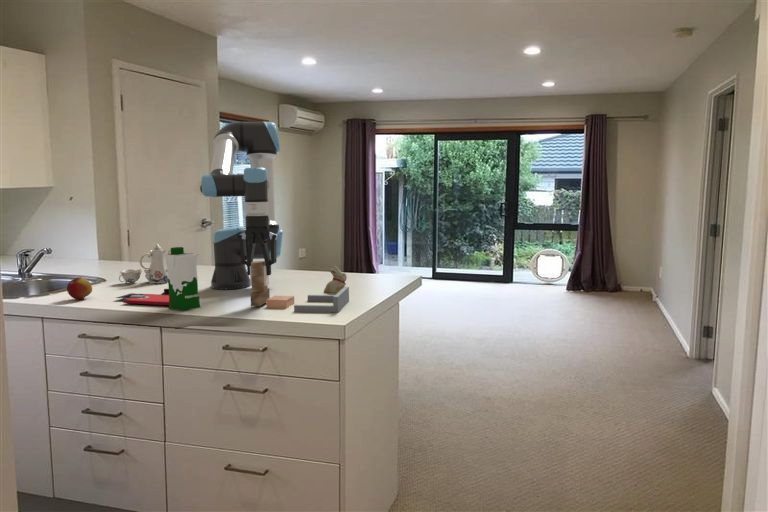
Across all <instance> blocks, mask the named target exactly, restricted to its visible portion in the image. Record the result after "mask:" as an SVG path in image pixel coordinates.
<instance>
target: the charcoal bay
mask: <svg viewBox="0 0 768 512" xmlns="http://www.w3.org/2000/svg"><path fill="white" fill-rule="evenodd" d="M321 301H330V302H331V303H332V305H330V304H329V305H328V304H293V311H294V312H295V313H331V312H338V313H340V312H341V310H342V309H343V308H344V307H345V306H346V305H347V304H348V303H349V302H350V286H345V287H344V288H342V289H341V290H340V291H339V292H338V293H335V294H307V302H321ZM330 302H329V303H330Z"/></svg>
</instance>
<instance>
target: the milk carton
mask: <svg viewBox="0 0 768 512" xmlns="http://www.w3.org/2000/svg"><path fill="white" fill-rule="evenodd" d="M170 249H171V254H168V253H167V254H165V260H166V264H167V269H168V283H167V284H168V289H169V305H168V309H170V310H174V311H180V312H185V311H189V310H190V311H191V310H192V309H197V308H201V303H200V296H199V286H198V284H199V283H198V260H199V254H198V253H194V252H185V251H184V247H182V246H175V247H171V248H170Z"/></svg>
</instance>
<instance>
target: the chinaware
mask: <svg viewBox="0 0 768 512" xmlns="http://www.w3.org/2000/svg"><path fill="white" fill-rule="evenodd" d="M166 251H167V255H168V254H171V248H169V249H168V250H166V249H163V248H162V247H161V246H160V245H159V244H158V243H156V245H155V246H154V247H153V248H152V249H150V250H149V252H148V253H143V254H142V255H141V256H140V258H139V265H140V267H141V268H142V269H143V270H142V269H141V268H140V269H136V270H135V269H127V270H120V274H119V277H118V280H119V282H120V283H124V282H125V284H127V283H129V284H128V285H133V284H132V283H135V284H136V283H137V281H138V280H140V278H141V275H142V273H143V272H144V273H145V275H144V276H145V278H146V280H147V281H148V284H150V283H162V284H165V283H164V282H168V269H167V264H166V260H165V255H166ZM146 256H147V258H149V259H150V264H149V267H145V266H143V262H142V260H143V258H144V257H146ZM121 277H122V279H123V281H122V280H121Z"/></svg>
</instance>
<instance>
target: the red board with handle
mask: <svg viewBox="0 0 768 512" xmlns="http://www.w3.org/2000/svg"><path fill="white" fill-rule="evenodd" d="M115 299H124V300H122V302H123V304H139V305H140V304H141V305H156V306H157V305H159V306H169V288H164V289H163V292H161V293H160V294H156V293H131V292H130V293H128V294H124V295H120V296H118V297H115Z"/></svg>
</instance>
